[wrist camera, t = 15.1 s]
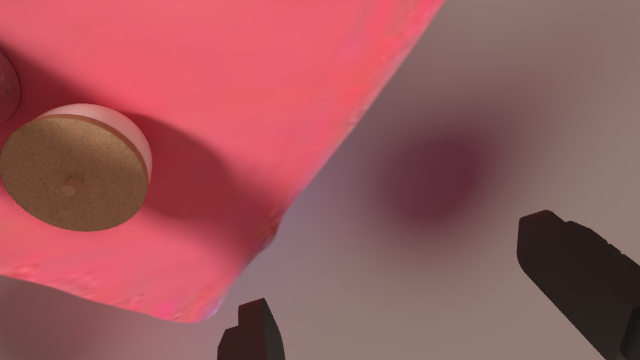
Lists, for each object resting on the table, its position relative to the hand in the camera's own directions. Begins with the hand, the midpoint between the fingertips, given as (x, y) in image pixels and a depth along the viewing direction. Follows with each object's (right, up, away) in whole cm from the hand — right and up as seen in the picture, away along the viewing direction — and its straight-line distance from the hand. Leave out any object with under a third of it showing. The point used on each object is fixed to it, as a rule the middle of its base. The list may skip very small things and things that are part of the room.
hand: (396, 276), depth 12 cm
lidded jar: (-24, +7, +26) cm, 36 cm away
